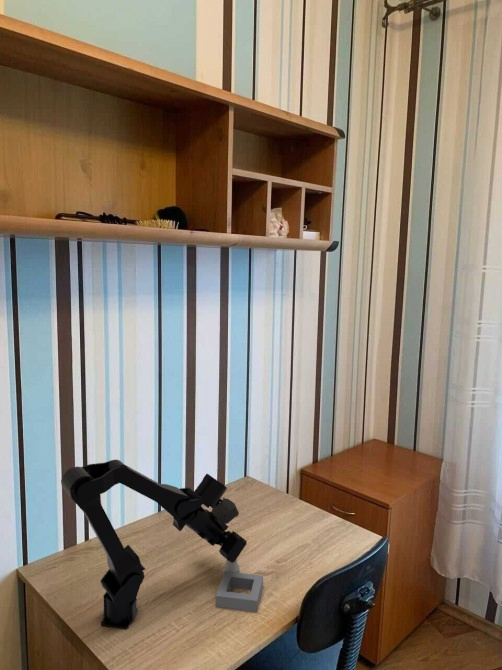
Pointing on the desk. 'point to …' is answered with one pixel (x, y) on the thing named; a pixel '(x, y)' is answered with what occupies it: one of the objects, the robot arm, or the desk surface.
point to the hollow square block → (238, 599)
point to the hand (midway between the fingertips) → (236, 548)
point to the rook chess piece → (231, 567)
